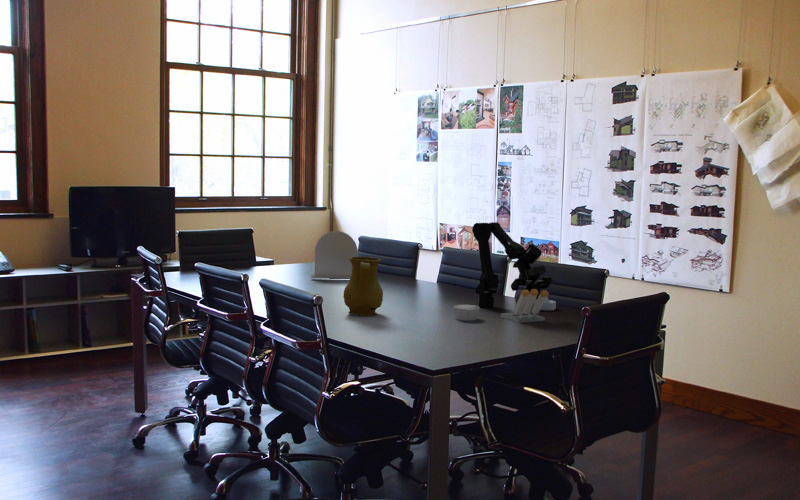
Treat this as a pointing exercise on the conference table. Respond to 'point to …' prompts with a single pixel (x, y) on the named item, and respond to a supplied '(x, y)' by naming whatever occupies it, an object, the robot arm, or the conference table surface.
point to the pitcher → (363, 287)
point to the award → (334, 256)
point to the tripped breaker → (539, 302)
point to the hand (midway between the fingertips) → (539, 299)
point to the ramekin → (466, 312)
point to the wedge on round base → (547, 304)
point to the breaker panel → (522, 317)
